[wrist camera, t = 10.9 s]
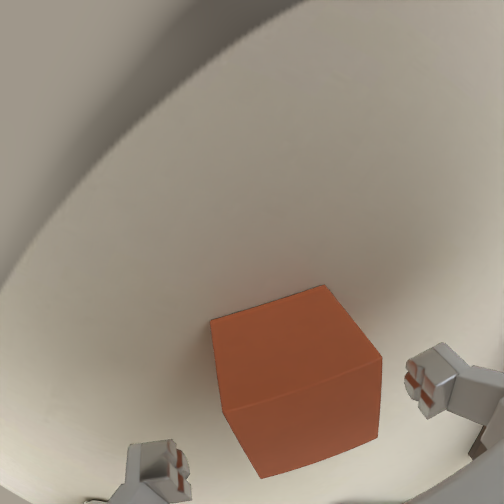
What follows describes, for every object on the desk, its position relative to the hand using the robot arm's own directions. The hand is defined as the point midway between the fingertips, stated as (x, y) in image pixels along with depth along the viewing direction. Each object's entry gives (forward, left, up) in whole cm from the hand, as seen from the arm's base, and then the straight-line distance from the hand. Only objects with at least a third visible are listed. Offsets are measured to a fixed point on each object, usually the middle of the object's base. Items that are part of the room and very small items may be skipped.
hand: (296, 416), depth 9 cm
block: (0, 0, -4) cm, 4 cm away
